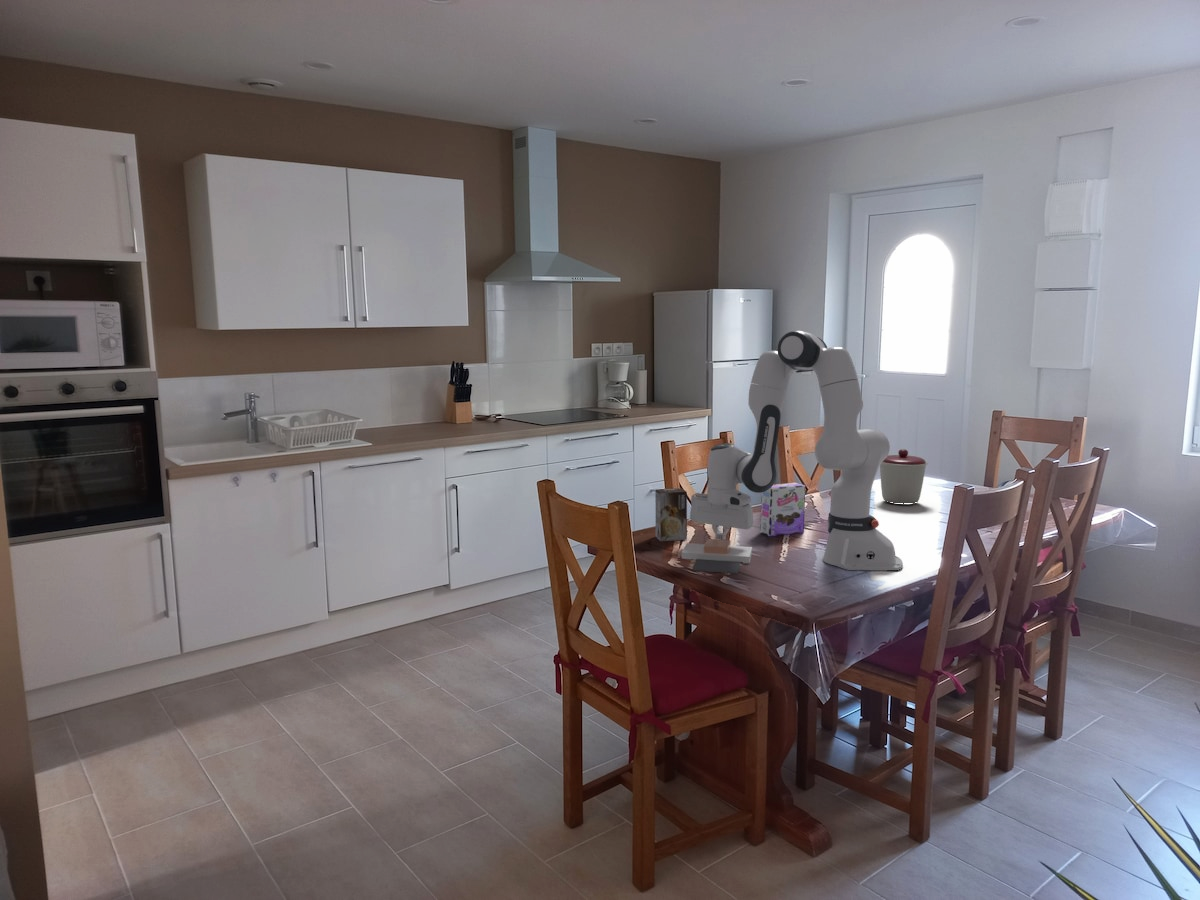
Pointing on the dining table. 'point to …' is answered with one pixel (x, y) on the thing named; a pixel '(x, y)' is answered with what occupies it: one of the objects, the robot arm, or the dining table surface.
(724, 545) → the tile
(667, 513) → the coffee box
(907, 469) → the canister
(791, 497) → the candy box
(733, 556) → the deck
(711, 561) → the mat
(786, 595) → the dining table surface
